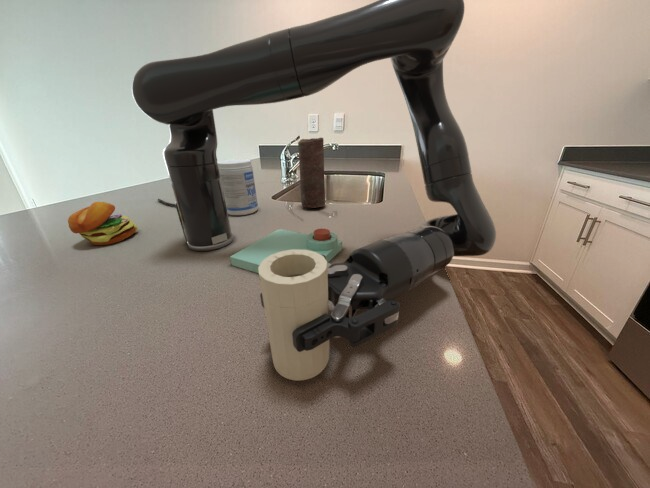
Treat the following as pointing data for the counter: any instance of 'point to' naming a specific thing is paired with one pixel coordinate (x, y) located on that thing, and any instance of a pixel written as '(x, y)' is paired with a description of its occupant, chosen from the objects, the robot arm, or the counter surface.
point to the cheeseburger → (101, 224)
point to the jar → (294, 308)
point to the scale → (284, 248)
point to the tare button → (321, 234)
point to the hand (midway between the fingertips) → (277, 320)
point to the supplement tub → (238, 186)
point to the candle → (312, 172)
